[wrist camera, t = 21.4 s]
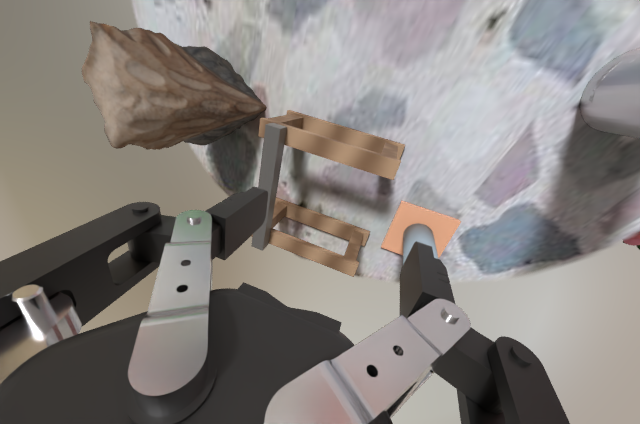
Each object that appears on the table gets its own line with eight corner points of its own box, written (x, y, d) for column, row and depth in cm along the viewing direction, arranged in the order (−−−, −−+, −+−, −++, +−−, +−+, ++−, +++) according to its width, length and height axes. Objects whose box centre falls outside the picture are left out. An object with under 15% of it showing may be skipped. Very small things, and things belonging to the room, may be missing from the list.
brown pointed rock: (221, 143, 48) (120, 170, 31) (182, 80, 45) (46, 71, 28) (268, 110, 43) (178, 122, 25) (228, 36, 39) (93, -9, 22)
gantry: (405, 144, 38) (405, 161, 29) (364, 243, 48) (355, 279, 39) (289, 110, 41) (257, 114, 32) (273, 209, 51) (245, 235, 42)
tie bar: (287, 126, 31) (280, 128, 30) (268, 243, 41) (262, 250, 39) (273, 122, 32) (265, 124, 30) (257, 239, 41) (251, 246, 39)
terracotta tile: (459, 220, 41) (460, 222, 40) (432, 264, 46) (433, 266, 45) (401, 200, 42) (401, 202, 42) (381, 245, 47) (381, 247, 46)
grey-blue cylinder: (438, 229, 42) (447, 265, 33) (425, 251, 44) (431, 290, 36) (410, 219, 42) (411, 251, 34) (398, 241, 45) (397, 277, 36)
